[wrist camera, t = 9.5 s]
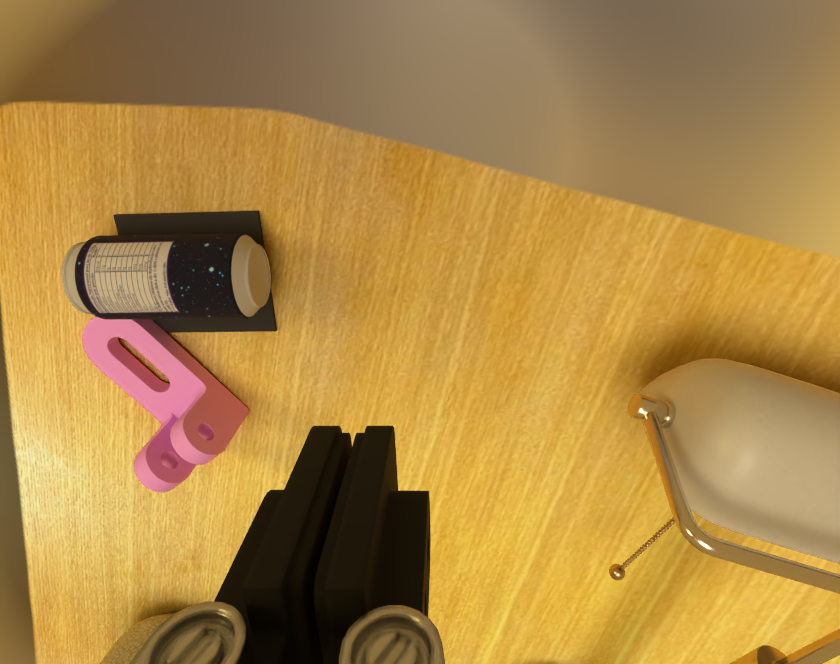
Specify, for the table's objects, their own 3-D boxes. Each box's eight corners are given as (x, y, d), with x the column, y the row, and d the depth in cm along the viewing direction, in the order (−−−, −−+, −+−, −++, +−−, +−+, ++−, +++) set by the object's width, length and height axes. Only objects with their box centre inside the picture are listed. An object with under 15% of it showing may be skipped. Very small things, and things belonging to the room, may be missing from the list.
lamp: (672, 631, 61) (998, 403, 37) (746, 918, 43) (1489, 841, 18) (458, 570, 59) (654, 288, 35) (440, 845, 41) (826, 654, 16)
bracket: (249, 410, 42) (214, 465, 36) (205, 443, 44) (164, 501, 37) (123, 293, 38) (58, 331, 32) (79, 334, 40) (10, 379, 34)
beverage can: (258, 215, 34) (84, 218, 35) (235, 274, 30) (41, 276, 31) (279, 277, 38) (125, 279, 39) (262, 335, 35) (91, 336, 35)
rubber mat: (115, 214, 36) (113, 215, 36) (259, 210, 36) (257, 211, 36) (145, 331, 40) (143, 332, 40) (277, 329, 39) (275, 331, 39)
